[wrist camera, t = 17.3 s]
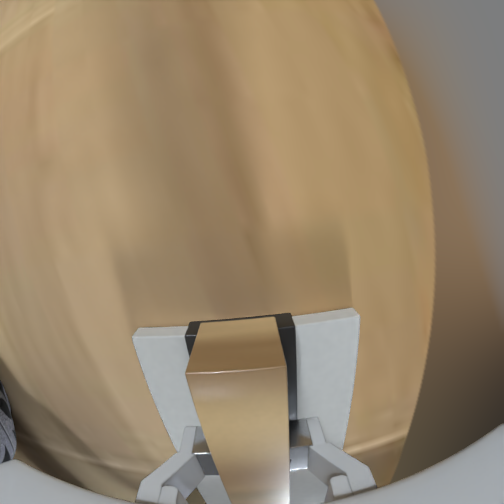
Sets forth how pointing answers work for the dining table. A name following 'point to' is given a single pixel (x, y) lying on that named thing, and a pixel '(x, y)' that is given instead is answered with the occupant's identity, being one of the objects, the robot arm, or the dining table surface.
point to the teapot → (6, 429)
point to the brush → (246, 401)
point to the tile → (308, 387)
